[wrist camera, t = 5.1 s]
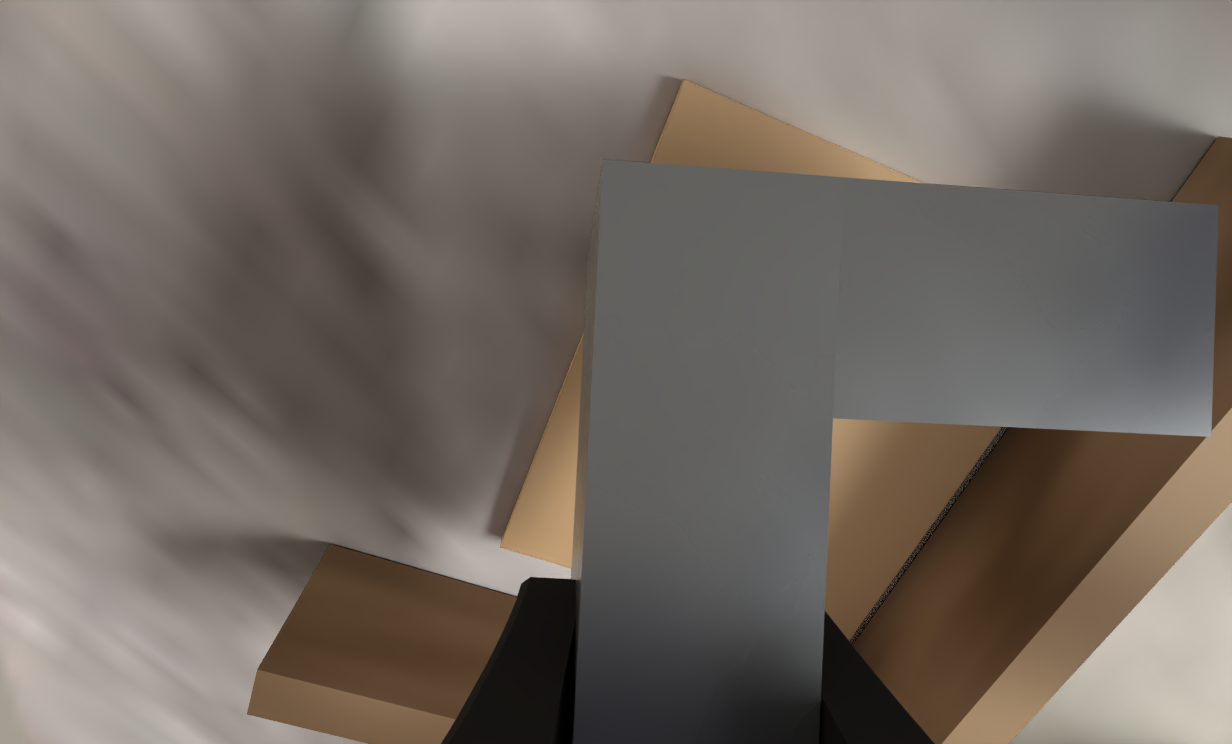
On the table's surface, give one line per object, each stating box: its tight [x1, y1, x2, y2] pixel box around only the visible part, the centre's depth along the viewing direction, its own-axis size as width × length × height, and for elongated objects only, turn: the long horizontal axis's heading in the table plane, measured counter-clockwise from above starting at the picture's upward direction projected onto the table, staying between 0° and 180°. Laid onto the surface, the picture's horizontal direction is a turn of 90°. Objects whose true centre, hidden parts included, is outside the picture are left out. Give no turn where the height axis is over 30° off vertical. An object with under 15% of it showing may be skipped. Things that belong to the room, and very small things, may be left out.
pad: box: [500, 79, 1001, 640], centre depth 13 cm, size 10×8×1 cm
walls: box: [247, 137, 1232, 744], centre depth 12 cm, size 15×14×3 cm
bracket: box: [567, 159, 1219, 744], centre depth 9 cm, size 8×6×5 cm
